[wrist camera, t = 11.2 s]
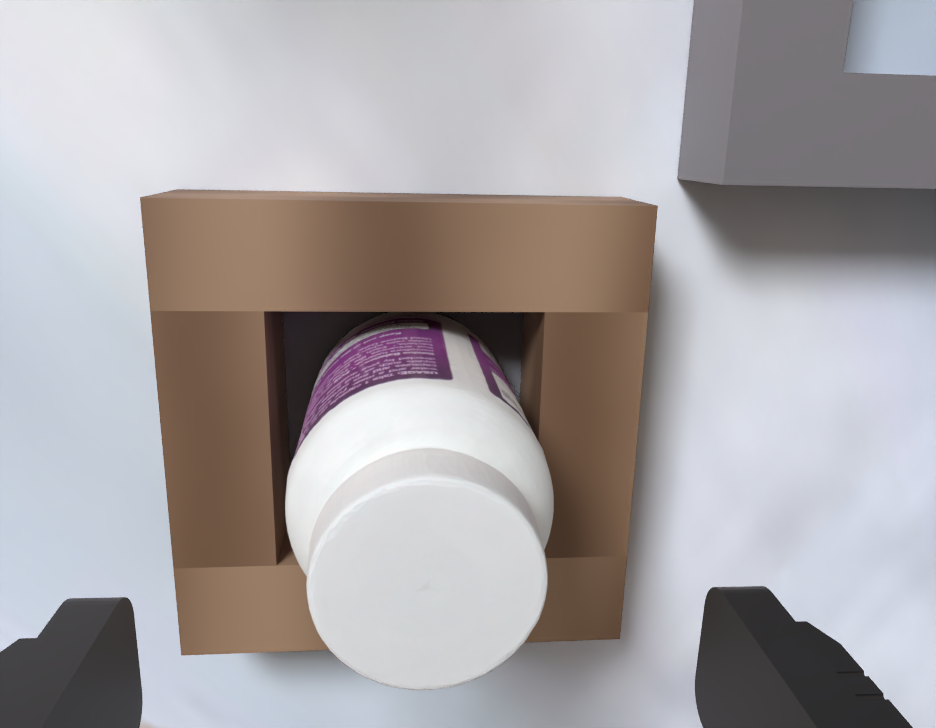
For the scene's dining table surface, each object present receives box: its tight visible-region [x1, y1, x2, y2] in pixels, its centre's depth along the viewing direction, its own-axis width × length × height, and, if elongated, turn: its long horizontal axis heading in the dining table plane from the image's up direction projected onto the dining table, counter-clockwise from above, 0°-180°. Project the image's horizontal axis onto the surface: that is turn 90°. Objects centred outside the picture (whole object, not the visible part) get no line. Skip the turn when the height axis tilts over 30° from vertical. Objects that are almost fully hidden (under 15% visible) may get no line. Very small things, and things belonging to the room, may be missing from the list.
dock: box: [140, 190, 658, 655], centre depth 20 cm, size 12×12×3 cm
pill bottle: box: [285, 312, 554, 690], centre depth 17 cm, size 5×5×10 cm
